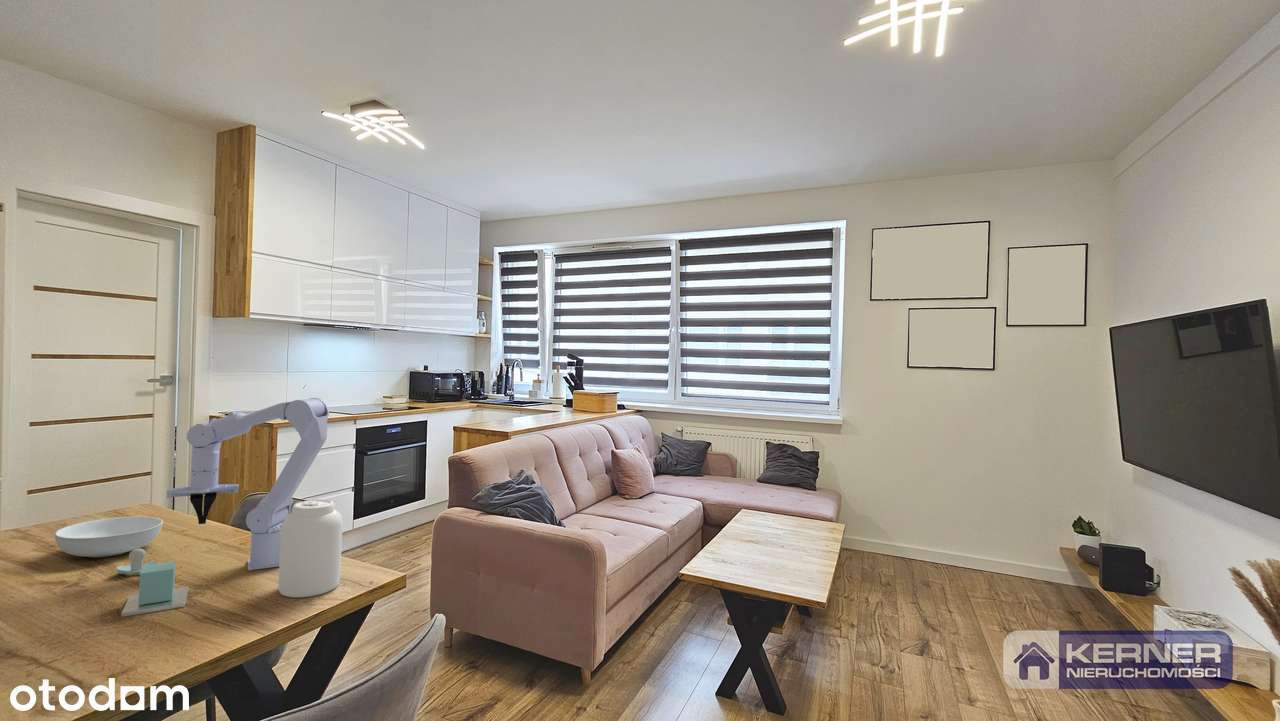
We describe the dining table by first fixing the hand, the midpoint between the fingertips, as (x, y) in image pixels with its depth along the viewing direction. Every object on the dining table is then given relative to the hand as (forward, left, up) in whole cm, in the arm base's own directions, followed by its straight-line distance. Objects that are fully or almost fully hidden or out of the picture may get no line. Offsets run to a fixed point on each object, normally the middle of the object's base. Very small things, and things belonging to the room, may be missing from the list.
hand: (202, 523), depth 145 cm
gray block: (+6, +24, -10) cm, 27 cm away
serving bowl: (+20, -20, -10) cm, 30 cm away
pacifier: (+12, +1, -11) cm, 16 cm away
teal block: (+6, +24, -9) cm, 26 cm away
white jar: (-22, +30, -10) cm, 39 cm away
